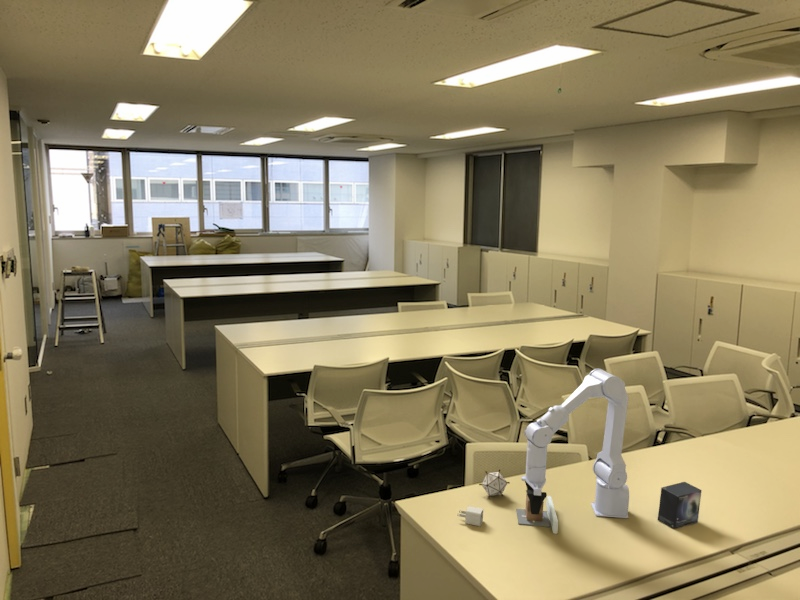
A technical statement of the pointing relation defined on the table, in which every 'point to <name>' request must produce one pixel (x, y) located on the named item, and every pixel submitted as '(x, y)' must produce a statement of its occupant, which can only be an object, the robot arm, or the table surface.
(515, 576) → the table surface
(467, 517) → the usb wall charger
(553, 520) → the frosted wall
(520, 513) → the pad
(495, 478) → the game die
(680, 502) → the small box
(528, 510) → the walnut block
